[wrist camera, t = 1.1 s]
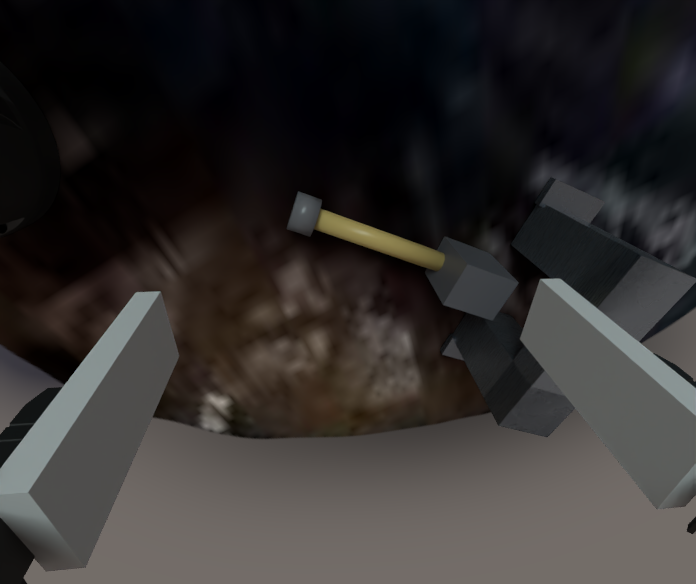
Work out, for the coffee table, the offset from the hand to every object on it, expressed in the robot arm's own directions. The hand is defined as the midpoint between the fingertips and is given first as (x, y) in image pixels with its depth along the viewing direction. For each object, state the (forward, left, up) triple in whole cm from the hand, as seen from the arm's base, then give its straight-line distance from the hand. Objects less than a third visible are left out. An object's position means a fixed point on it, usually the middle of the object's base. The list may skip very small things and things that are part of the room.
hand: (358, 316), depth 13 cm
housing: (+20, -3, -20) cm, 29 cm away
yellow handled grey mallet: (+7, -3, -20) cm, 22 cm away
